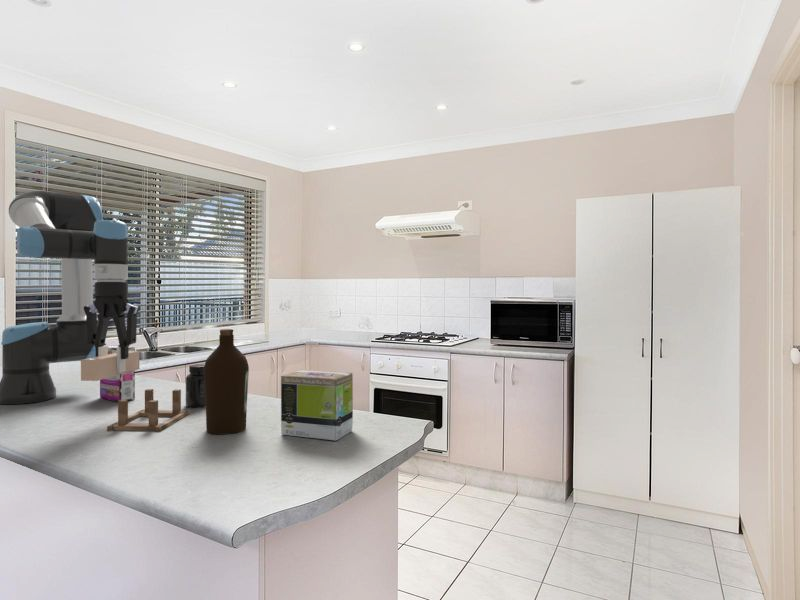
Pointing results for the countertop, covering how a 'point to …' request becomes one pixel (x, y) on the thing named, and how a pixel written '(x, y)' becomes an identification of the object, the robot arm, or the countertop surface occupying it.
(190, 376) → the supplement bottle
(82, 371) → the clay strip
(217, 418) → the olive oil
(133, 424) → the rack
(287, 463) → the countertop surface
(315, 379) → the tea box
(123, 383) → the candy bar box
